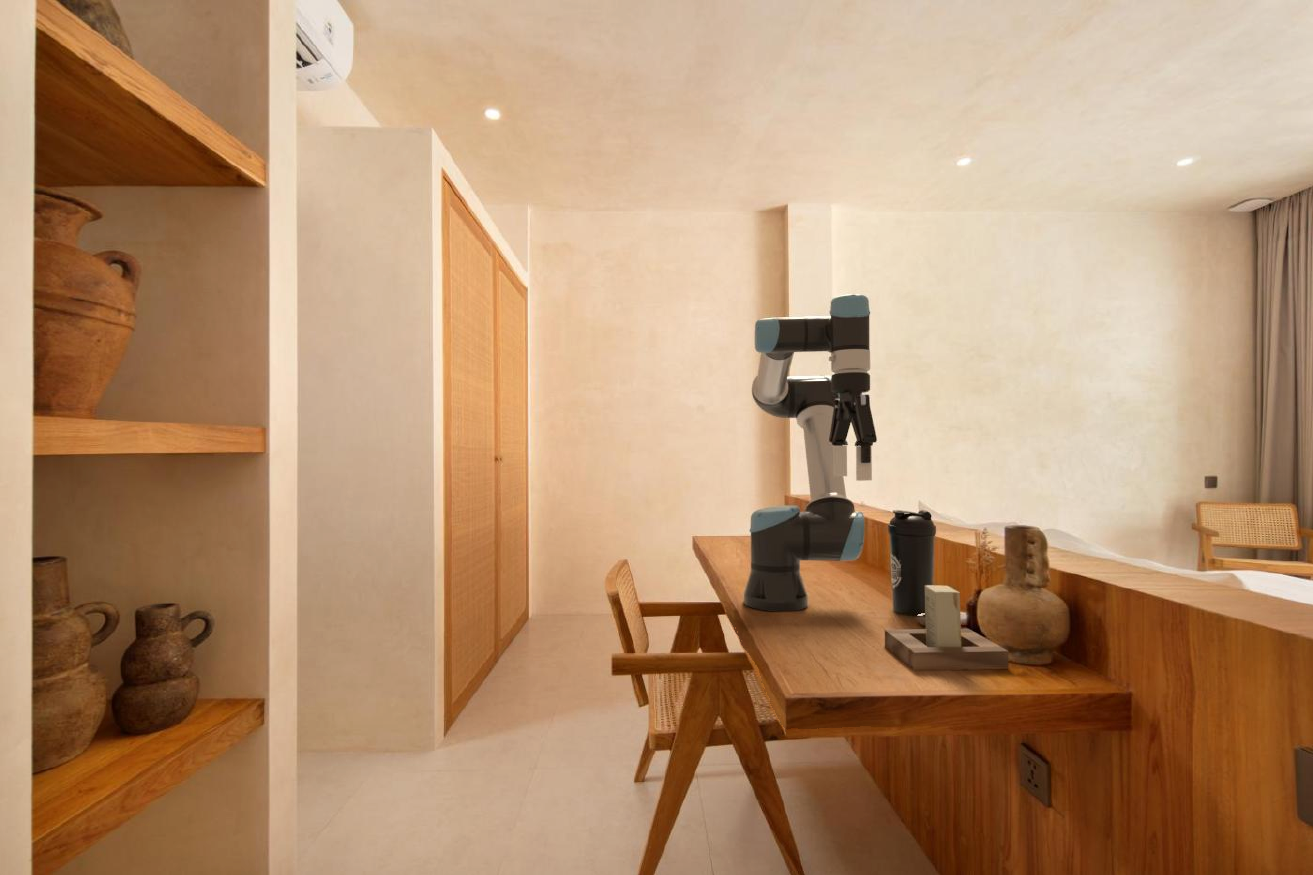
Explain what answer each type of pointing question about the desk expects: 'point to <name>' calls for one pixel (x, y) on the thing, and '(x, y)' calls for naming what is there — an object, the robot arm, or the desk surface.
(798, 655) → the desk surface
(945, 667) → the socket stand
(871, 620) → the desk surface
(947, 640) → the skincare box
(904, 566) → the water bottle
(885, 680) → the desk surface
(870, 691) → the desk surface
